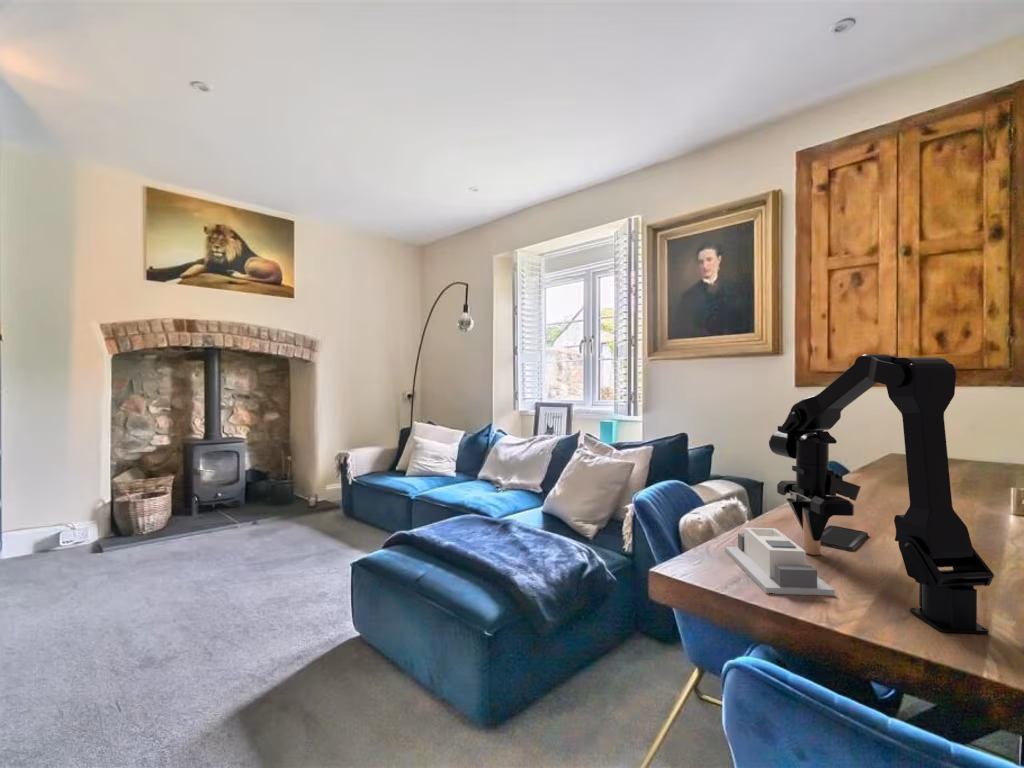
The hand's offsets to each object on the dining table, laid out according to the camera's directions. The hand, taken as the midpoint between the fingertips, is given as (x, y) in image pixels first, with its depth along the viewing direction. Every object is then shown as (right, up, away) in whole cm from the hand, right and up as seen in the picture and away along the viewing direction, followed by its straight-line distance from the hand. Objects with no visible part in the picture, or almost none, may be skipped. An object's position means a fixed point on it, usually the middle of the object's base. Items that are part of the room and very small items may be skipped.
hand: (812, 538), depth 100 cm
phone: (+12, -4, +9) cm, 15 cm away
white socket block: (-13, -2, -8) cm, 15 cm away
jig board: (-13, -3, -9) cm, 16 cm away
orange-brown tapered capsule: (0, -3, 0) cm, 3 cm away
